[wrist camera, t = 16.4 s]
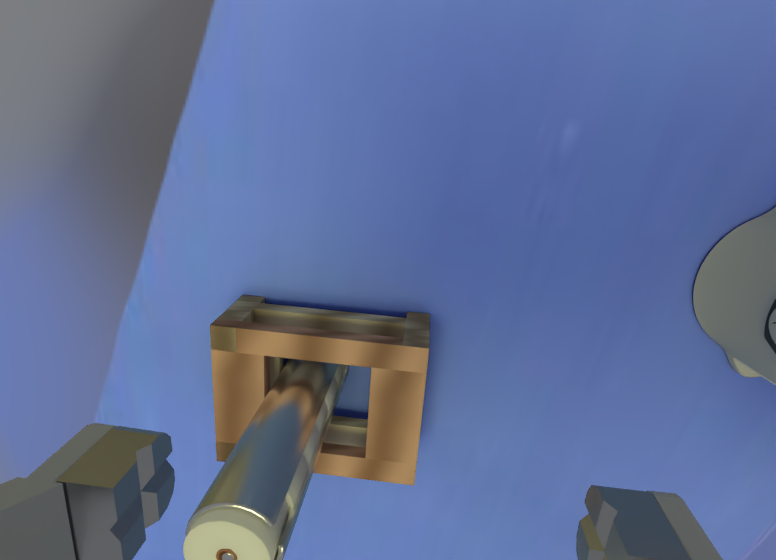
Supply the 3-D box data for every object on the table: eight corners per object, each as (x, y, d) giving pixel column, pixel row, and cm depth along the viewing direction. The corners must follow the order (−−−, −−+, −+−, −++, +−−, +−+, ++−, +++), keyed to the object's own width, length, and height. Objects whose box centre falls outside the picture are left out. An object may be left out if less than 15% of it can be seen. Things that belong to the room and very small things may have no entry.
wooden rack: (430, 313, 50) (429, 348, 43) (417, 434, 55) (414, 485, 48) (242, 294, 51) (209, 325, 44) (246, 414, 56) (216, 460, 49)
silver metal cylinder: (342, 397, 54) (271, 608, 31) (286, 383, 54) (173, 584, 31) (353, 346, 52) (286, 531, 29) (295, 332, 52) (180, 505, 29)
